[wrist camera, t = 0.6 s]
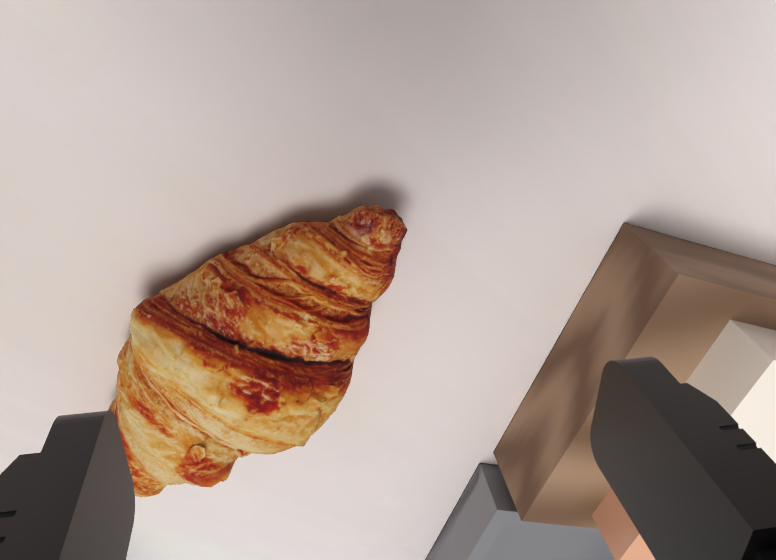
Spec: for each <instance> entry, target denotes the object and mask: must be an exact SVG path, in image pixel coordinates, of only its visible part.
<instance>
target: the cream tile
mask: <svg viewBox="0 0 776 560" xmlns="http://www.w3.org/2000/svg"><path fill="white" fill-rule="evenodd" d="M686 383H688V384H690V385H692V386H693V387H695V388H696V389H698V390H700V391H701V392H703V393H705V394H706V395H708V396H709V397H711V398H713V399H714V400H716V401H717V402H718V403H719V404H720V405H721V406H722V407H723V408H724V409H725V410H726V411H727V412H728V413H729V414H730V415H731V417H732V418H733V419H734V420H735V421H736V422H737V423H738V427H739V428H740V429H742V428H743V429H744V430H745V431H746V432H747V433H748V435H749V436H750V437H751V438H752V439H753V440H754V441H755V442H756V446H757V448H762V449H763V450H764V451H765V453H766V454H767V455H768V456H769V457H770V458H771V459H772V460H773V461H774V462H775V463H776V330H771V329H767V328H763V327H759V326H755V325H751V324H747V323H743V322H739V321H734V320H729V322H728V323H727V325H726V326H725V328H724V329H723V330H722V332H721V333H720V335H719V336H718V337H717V339H716V340H715V342H714V343H713V345H712V346H711V347H710V349H709V350H708V352H707V353H706V354H705V356H704V357H703V359H702V360H701V361H700V363H699V364H698V366H697V367H696V369H695V370H694V371H693V373H692V374H691V376H690V377H689V378H688V380H687V381H686Z"/></svg>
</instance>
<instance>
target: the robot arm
mask: <svg viewBox="0 0 776 560" xmlns="http://www.w3.org/2000/svg"><path fill="white" fill-rule="evenodd" d="M590 441H591V448H592V452H593V455H594V458H595V461H596V463H597V465H598V467H599V469H600V470H601V472H602V473H603V475H604V477H605V478H606V480H607V482H608V483H609V485H610V486H611V488H612V490H613V491H614V493H615V495H616V496H617V498H618V499H619V501H620V503H621V504H622V506H623V508H624V509H625V511H626V512H627V514H628V516H629V517H630V519H631V521H632V522H633V524H634V525H635V527H636V529H637V530H638V532H639V534H640V535H641V537H642V538H643V540H644V542H645V543H646V545H647V547H648V548H649V550H650V551H651V553H652V555H653V556H654V558H655V560H776V463H775V462H774V461H773V460H772V459H771V458H770V457H769V456H768V455H767V454H766V453H765V451H764V450H763V449H762V448H757V446H756V442H755V441H754V440H753V439H752V438H751V437H750V436H749V435H748V433H747V432H746V431H745V430H744V429H743V428H742V429H740V428H739V427H738V423H737V422H736V421H735V420H734V419H733V418H732V417H731V415H730V414H729V413H728V412H727V411H726V410H725V409H724V408H723V407H722V406H721V405H720V404H719V403H718V402H717V401H716V400H714V399H713V398H711V397H709V396H708V395H706V394H705V393H703V392H701V391H700V390H698V389H696V388H695V387H693V386H692V385H690V384H688V383H682V384H680V383H679V382H678V381H677V380H676V378H675V377H674V376H673V375H672V374H671V373H670V372H669V371H668V370H667V368H666V367H665V366H664V365H663V364H662V363H661V362H660V361H659V360H658V359H656V358H654V357H641V358H631V359H622V360H612V361H608V362H607V363H606V364H605V366H604V368H603V371H602V376H601V381H600V385H599V390H598V395H597V400H596V405H595V410H594V414H593V419H592V424H591V430H590ZM134 513H135V494H134V485H133V480H132V476H131V473H130V469H129V465H128V461H127V457H126V453H125V450H124V446H123V442H122V438H121V434H120V430H119V426H118V423H117V419H116V417H115V415H114V413H113V412H112V411H102V412H92V413H83V414H73V415H63V416H58V417H57V418H56V419H55V421H54V423H53V425H52V427H51V429H50V432H49V434H48V437H47V439H46V441H45V444H44V446H43V449H42V451H41V453H33V454H24V455H19V456H18V457H17V458H16V459H15V460H14V461H13V462H12V463H11V464H10V465H9V466H8V467H7V468H6V469H5V470H4V471H3V472H2V473H1V474H0V560H126V556H127V551H128V546H129V542H130V537H131V532H132V528H133V522H134Z"/></svg>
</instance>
